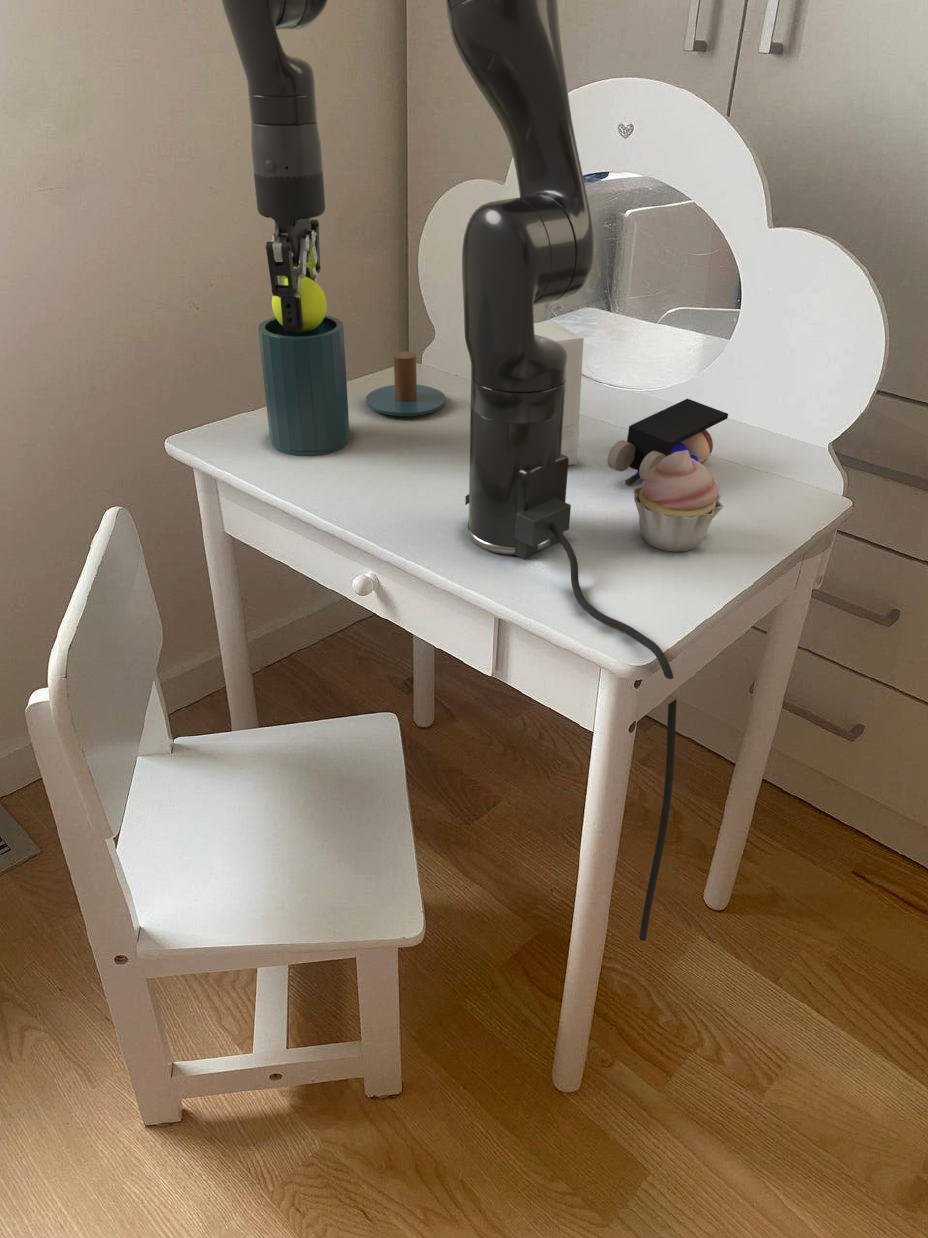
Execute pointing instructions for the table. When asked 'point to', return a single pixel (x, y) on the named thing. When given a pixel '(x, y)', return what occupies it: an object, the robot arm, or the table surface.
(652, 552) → the table surface
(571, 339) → the cosmetic box
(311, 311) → the tennis ball
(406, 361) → the tube lid
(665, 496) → the cupcake
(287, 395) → the tube
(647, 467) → the figurine character
